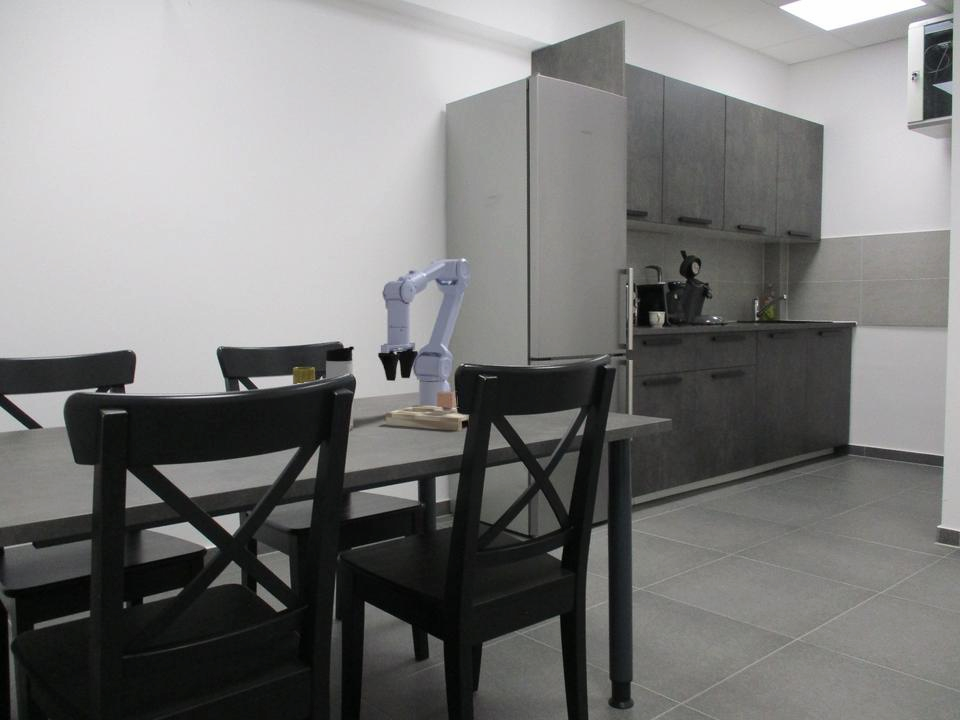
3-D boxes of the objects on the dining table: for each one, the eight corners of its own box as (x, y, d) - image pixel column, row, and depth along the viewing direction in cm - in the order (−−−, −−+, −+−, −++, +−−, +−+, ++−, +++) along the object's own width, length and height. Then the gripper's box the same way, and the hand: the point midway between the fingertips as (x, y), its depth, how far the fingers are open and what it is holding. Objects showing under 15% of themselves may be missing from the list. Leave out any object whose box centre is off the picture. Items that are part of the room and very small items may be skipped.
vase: (322, 424, 200) (321, 367, 199) (304, 427, 195) (303, 369, 194) (304, 422, 203) (303, 366, 202) (286, 425, 198) (285, 368, 197)
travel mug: (351, 432, 189) (351, 347, 188) (324, 431, 189) (323, 347, 188) (356, 427, 195) (356, 345, 194) (329, 427, 195) (328, 345, 194)
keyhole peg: (441, 422, 205) (441, 391, 204) (458, 423, 203) (459, 391, 203) (434, 425, 200) (435, 393, 199) (453, 426, 199) (453, 394, 198)
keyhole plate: (416, 416, 214) (416, 405, 214) (485, 421, 206) (485, 409, 206) (385, 424, 200) (385, 412, 200) (458, 430, 192) (458, 418, 192)
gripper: (398, 326, 216) (398, 376, 217) (370, 327, 203) (370, 380, 204) (422, 326, 213) (421, 377, 214) (394, 328, 200) (394, 382, 201)
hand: (398, 379), depth 209 cm, fingers open, 7 cm apart
